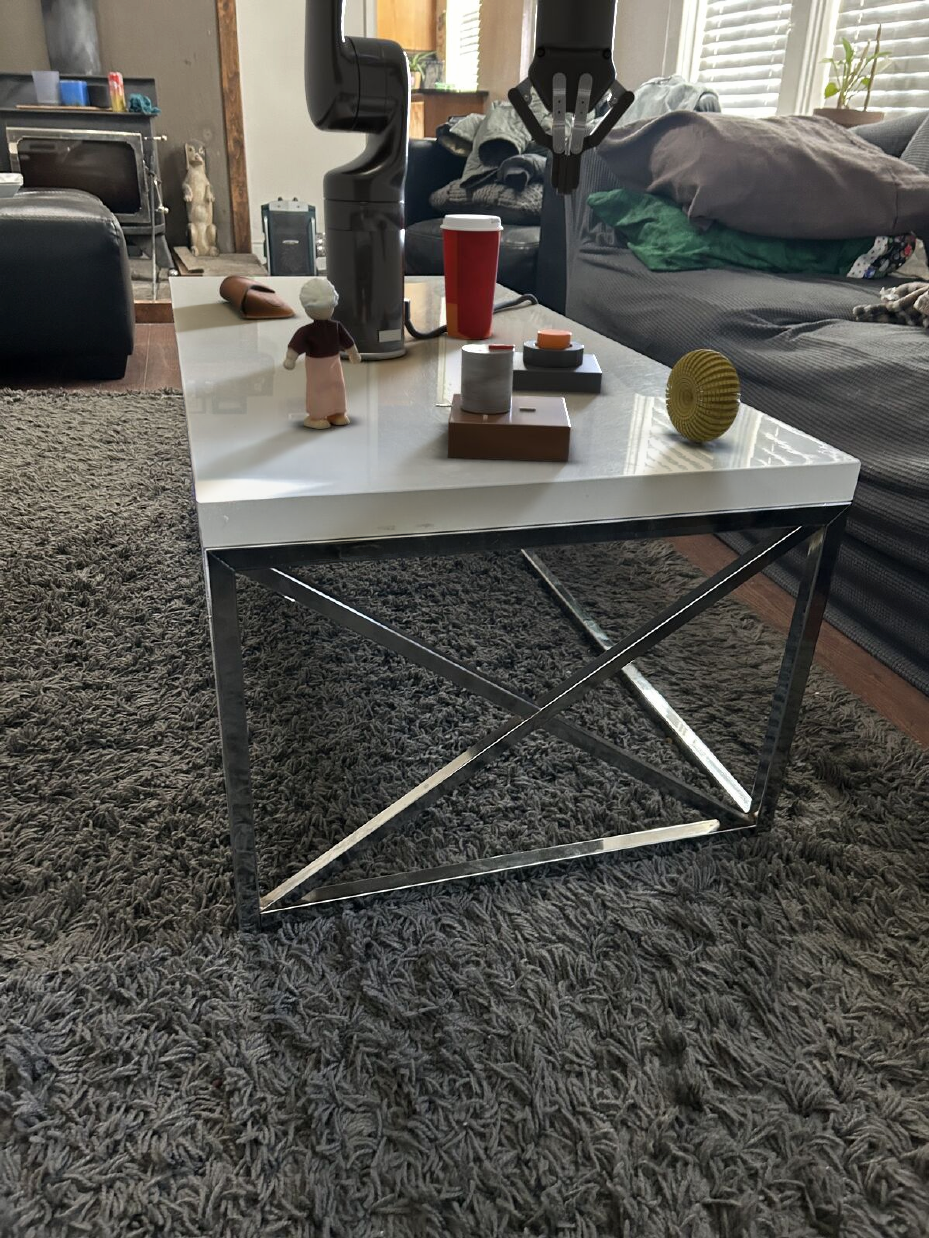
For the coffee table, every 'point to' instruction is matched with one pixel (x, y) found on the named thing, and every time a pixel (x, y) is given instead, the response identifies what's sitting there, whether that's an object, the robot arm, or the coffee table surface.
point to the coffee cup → (470, 273)
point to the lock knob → (487, 378)
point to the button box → (556, 369)
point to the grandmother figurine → (322, 355)
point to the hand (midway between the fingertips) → (563, 194)
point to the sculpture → (702, 395)
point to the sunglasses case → (254, 298)
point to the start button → (553, 339)
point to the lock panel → (511, 431)
